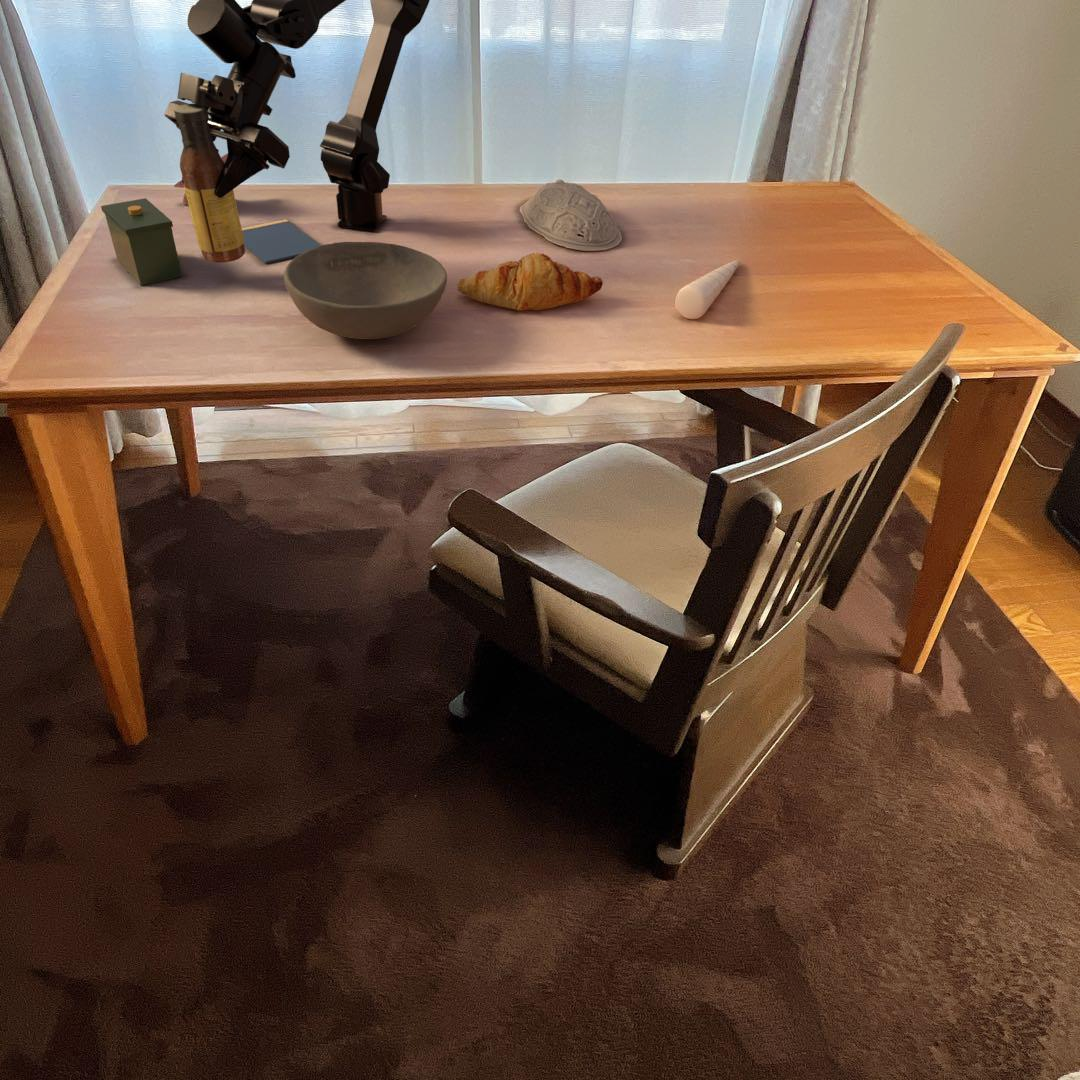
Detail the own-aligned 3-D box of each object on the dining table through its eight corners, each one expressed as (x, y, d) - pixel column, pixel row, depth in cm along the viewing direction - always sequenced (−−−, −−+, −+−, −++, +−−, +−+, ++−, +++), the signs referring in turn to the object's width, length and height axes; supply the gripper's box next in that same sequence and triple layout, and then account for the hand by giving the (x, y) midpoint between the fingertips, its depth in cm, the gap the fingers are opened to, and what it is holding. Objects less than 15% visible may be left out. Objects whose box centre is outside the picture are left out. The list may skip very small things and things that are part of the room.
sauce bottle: (252, 248, 128) (227, 102, 115) (237, 266, 123) (209, 116, 110) (208, 244, 128) (179, 98, 115) (191, 262, 124) (158, 112, 110)
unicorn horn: (760, 269, 141) (766, 240, 138) (701, 324, 125) (707, 293, 122) (732, 262, 142) (738, 233, 139) (671, 315, 127) (676, 284, 124)
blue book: (285, 221, 146) (285, 218, 145) (325, 250, 137) (325, 247, 137) (228, 233, 141) (227, 230, 140) (265, 264, 133) (265, 260, 132)
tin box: (158, 252, 134) (144, 192, 128) (184, 276, 128) (170, 215, 122) (115, 260, 131) (99, 200, 125) (140, 286, 125) (123, 224, 119)
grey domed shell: (551, 251, 140) (557, 208, 136) (504, 204, 159) (508, 165, 155) (638, 253, 145) (646, 212, 142) (582, 207, 164) (588, 169, 160)
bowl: (278, 301, 123) (269, 246, 118) (420, 283, 130) (418, 230, 125) (310, 374, 109) (302, 315, 104) (468, 349, 116) (468, 293, 110)
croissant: (458, 329, 127) (458, 294, 120) (455, 272, 131) (454, 235, 123) (602, 325, 129) (610, 291, 122) (594, 269, 133) (602, 233, 125)
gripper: (159, 33, 115) (109, 141, 115) (258, 58, 107) (204, 174, 107) (218, 87, 125) (172, 186, 125) (313, 114, 118) (263, 219, 118)
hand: (200, 190), depth 119 cm, fingers closed on sauce bottle, 6 cm apart
